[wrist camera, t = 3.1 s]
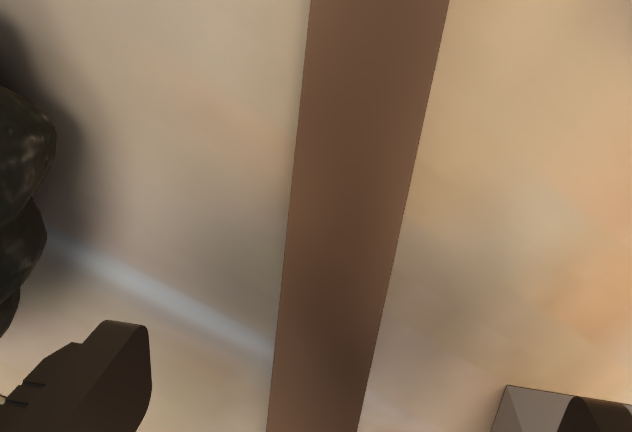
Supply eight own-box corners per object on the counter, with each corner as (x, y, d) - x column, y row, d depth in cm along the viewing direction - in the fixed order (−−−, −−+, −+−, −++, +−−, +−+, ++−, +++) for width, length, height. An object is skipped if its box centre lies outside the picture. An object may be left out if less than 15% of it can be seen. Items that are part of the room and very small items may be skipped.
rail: (275, 450, 23) (254, 547, 19) (359, -259, 12) (350, -388, 8) (337, 462, 23) (328, 561, 19) (477, -247, 12) (529, -372, 8)
